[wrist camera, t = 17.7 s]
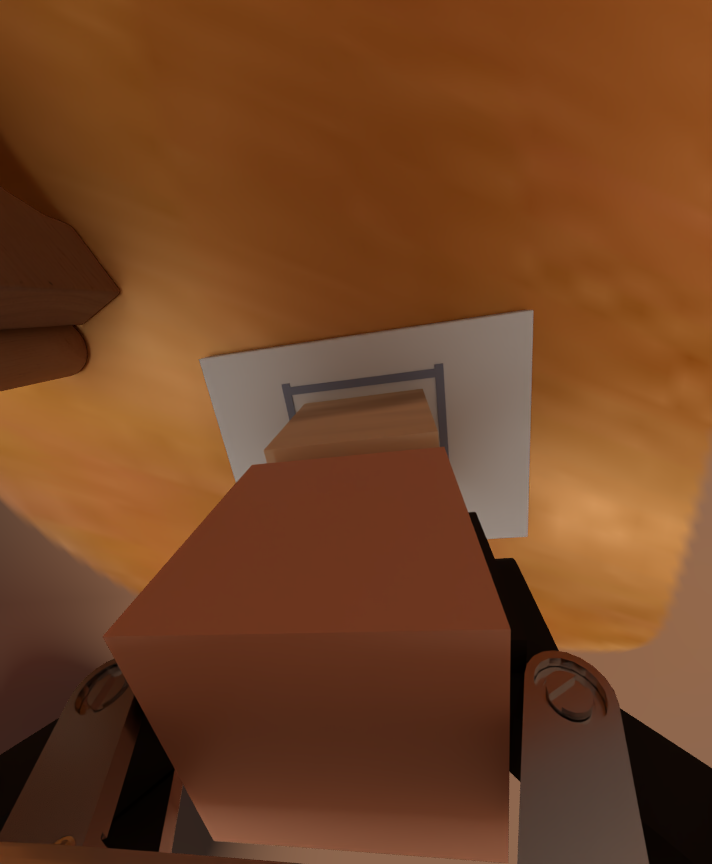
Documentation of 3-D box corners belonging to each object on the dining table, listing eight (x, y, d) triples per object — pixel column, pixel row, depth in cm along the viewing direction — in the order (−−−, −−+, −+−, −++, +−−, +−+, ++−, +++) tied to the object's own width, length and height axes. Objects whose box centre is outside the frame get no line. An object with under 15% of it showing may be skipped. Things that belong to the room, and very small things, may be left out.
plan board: (208, 356, 18) (197, 359, 17) (524, 309, 16) (534, 310, 15) (262, 541, 22) (256, 552, 21) (521, 525, 20) (528, 537, 19)
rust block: (251, 464, 11) (102, 636, 5) (444, 446, 10) (510, 629, 4) (291, 607, 13) (213, 840, 7) (454, 602, 12) (508, 863, 6)
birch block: (304, 403, 17) (263, 450, 12) (422, 388, 17) (437, 431, 11) (325, 504, 19) (299, 584, 14) (432, 495, 19) (449, 577, 13)
